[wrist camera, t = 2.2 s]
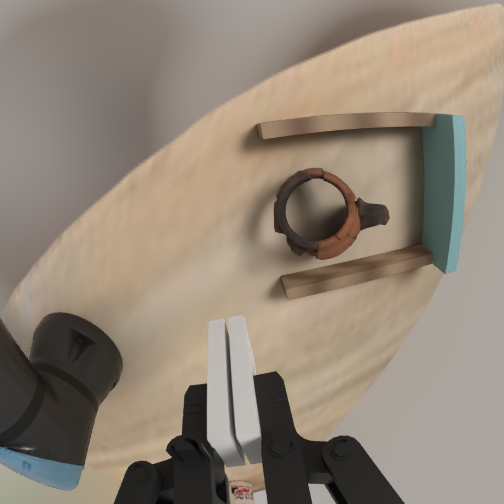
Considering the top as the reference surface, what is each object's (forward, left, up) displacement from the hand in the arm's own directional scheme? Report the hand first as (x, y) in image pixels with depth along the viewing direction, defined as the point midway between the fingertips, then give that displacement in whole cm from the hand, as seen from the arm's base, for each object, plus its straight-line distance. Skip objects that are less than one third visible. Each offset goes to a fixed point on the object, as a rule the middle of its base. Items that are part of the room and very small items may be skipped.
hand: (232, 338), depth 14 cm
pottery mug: (+11, -1, -19) cm, 22 cm away
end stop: (+26, 0, -18) cm, 32 cm away
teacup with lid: (-16, -76, -19) cm, 80 cm away
